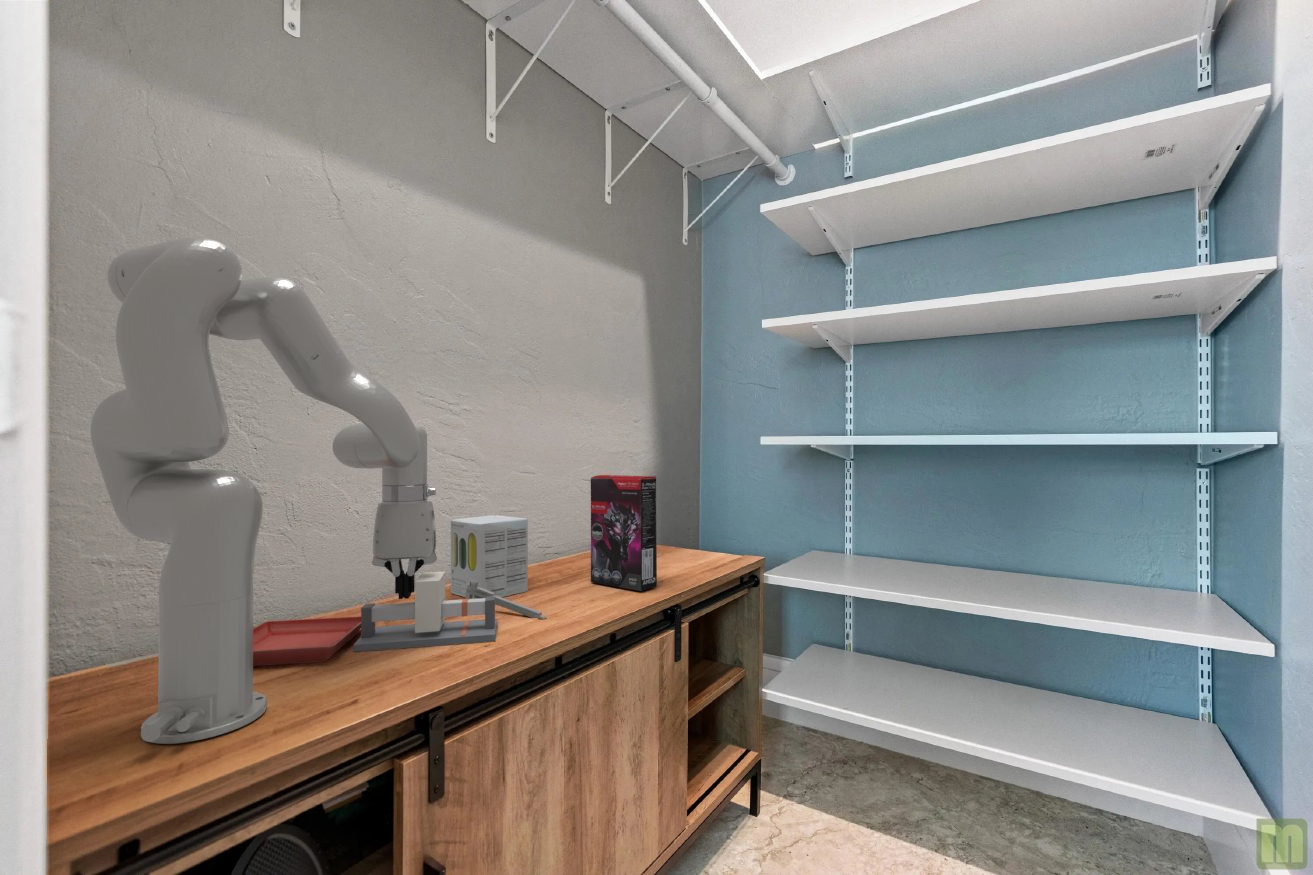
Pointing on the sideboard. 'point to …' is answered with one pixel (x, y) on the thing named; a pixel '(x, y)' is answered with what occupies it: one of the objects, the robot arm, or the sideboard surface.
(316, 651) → the plant saucer
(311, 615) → the sideboard surface
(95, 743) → the sideboard surface
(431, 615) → the white sliding block
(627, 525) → the graphics card box
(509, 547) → the supplement box
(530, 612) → the caliper
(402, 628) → the gray slide rail base
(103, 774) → the sideboard surface
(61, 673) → the sideboard surface
